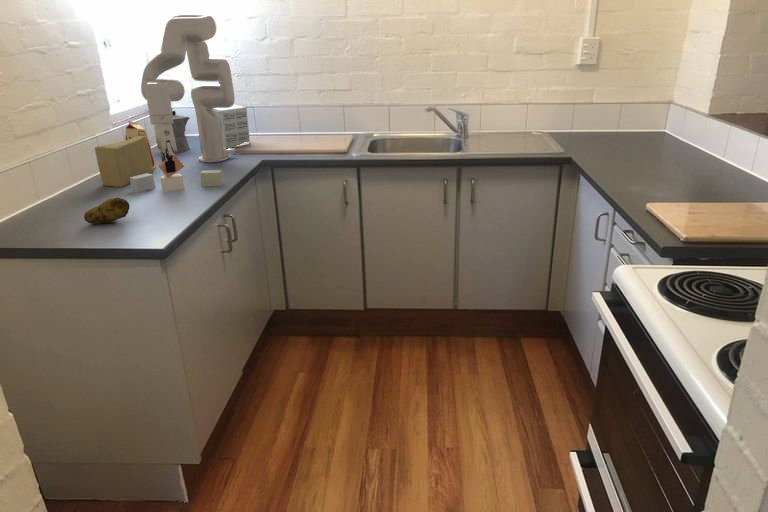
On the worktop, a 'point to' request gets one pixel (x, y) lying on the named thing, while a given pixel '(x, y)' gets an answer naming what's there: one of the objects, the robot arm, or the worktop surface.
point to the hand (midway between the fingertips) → (169, 170)
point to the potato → (107, 211)
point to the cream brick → (172, 182)
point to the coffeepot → (180, 132)
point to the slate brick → (142, 182)
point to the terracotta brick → (177, 165)
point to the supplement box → (233, 125)
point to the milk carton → (136, 131)
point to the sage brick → (211, 178)
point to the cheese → (123, 161)
